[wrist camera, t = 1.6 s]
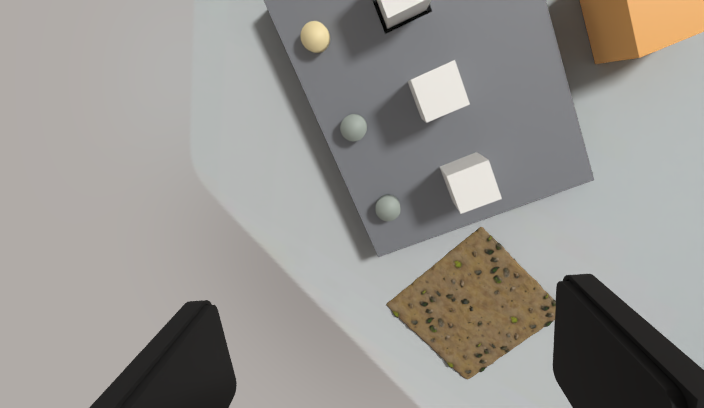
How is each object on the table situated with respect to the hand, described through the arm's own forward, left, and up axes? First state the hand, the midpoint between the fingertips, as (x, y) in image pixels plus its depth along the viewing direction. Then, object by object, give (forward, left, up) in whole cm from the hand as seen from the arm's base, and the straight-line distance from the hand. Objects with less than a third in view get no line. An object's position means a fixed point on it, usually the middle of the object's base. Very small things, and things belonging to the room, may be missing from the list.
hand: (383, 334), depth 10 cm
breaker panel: (-6, -4, -22) cm, 23 cm away
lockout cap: (-21, -4, -22) cm, 31 cm away
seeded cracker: (-3, +16, -23) cm, 28 cm away
